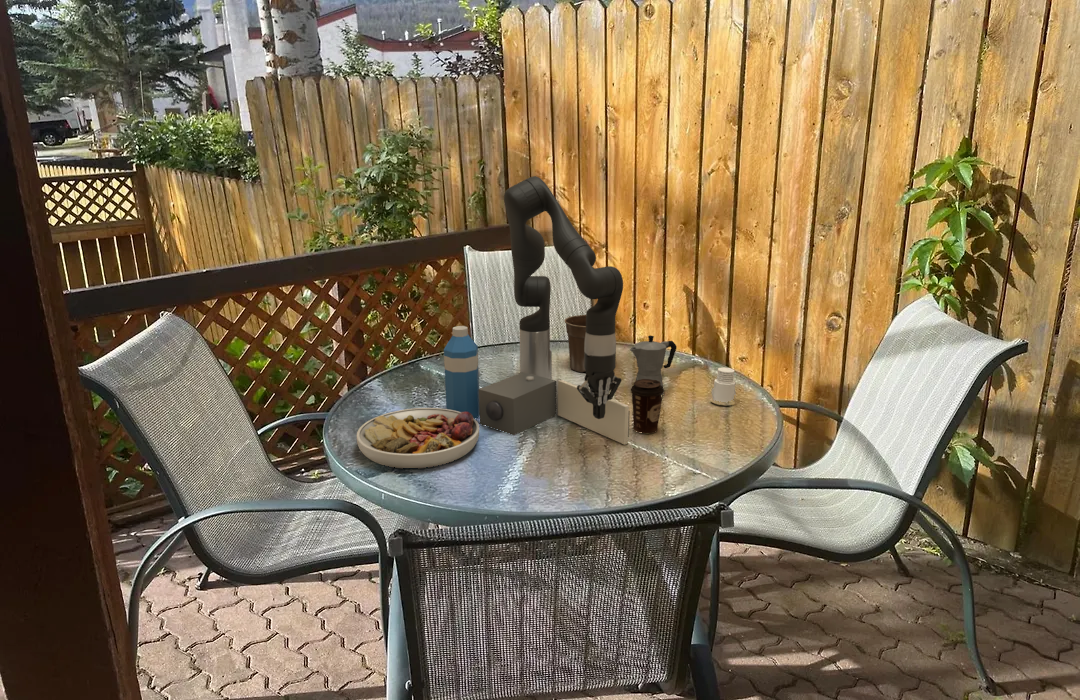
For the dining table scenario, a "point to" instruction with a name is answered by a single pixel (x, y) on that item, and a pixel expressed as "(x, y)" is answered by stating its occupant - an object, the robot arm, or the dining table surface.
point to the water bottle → (462, 372)
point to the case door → (581, 413)
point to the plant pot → (576, 341)
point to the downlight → (724, 385)
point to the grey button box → (517, 402)
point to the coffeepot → (652, 358)
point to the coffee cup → (646, 405)
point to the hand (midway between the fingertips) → (598, 417)
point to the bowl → (418, 437)
